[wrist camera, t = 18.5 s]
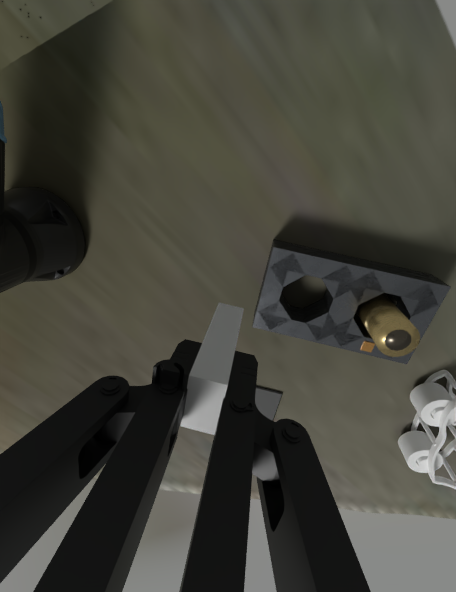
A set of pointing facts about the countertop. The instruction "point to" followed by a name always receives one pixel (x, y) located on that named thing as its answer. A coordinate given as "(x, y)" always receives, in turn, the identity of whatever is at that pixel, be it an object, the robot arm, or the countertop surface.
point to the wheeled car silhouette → (435, 412)
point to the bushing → (388, 326)
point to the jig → (341, 297)
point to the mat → (267, 401)
